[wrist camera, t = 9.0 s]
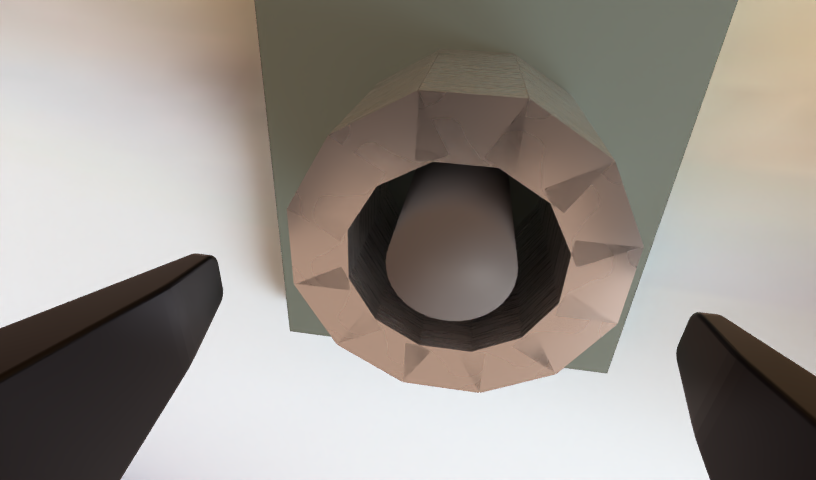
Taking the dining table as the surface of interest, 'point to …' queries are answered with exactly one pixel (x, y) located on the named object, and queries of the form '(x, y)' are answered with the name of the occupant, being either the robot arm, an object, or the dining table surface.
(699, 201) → the dining table surface
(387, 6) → the post stand
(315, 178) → the tan faceted hollow ring
